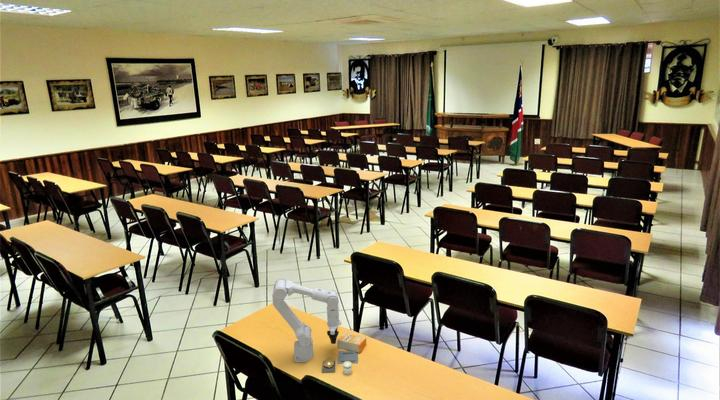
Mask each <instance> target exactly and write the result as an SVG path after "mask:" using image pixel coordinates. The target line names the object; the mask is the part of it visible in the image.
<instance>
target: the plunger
mask: <svg viewBox="0 0 720 400" xmlns="http://www.w3.org/2000/svg"><path fill="white" fill-rule="evenodd" d="M323 361H324V362H323ZM323 361H322V365H323V364H324V366H325V367H333V365H334V360H333V359H332V358H327V359H324V360H323Z"/></svg>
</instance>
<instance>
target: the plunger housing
mask: <svg viewBox="0 0 720 400" xmlns="http://www.w3.org/2000/svg"><path fill="white" fill-rule="evenodd" d="M333 361H334V365H333V366H332V367H325V366H324V364H323V362H324V360H323V361H322V368H321V372H322V374H323V373H327V374H328V373H336V360H333Z"/></svg>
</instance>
